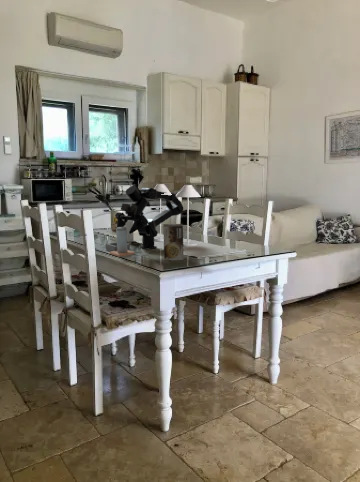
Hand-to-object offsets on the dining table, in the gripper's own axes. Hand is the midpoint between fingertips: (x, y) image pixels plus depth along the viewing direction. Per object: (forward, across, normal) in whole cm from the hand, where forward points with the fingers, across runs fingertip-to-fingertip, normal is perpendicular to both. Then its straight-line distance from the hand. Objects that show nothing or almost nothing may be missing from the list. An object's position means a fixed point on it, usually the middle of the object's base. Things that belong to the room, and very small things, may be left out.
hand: (123, 232), depth 201 cm
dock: (+6, -4, +9) cm, 12 cm away
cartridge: (+7, 0, +6) cm, 10 cm away
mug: (-8, -22, +24) cm, 34 cm away
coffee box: (+4, +27, +12) cm, 30 cm away
